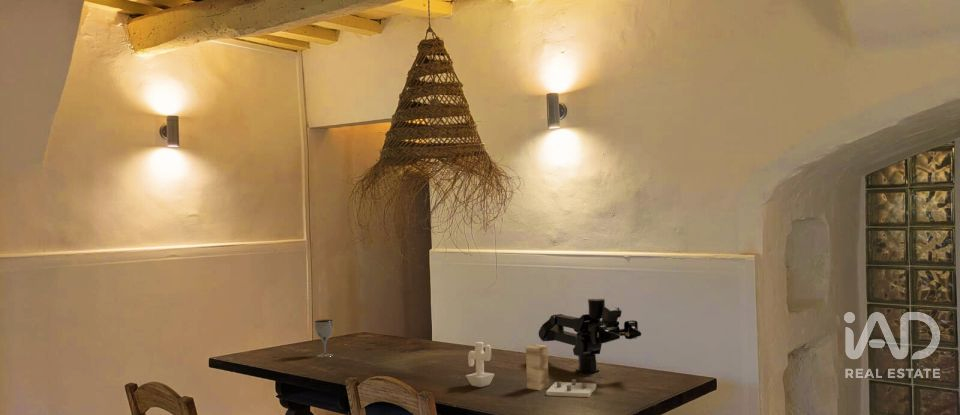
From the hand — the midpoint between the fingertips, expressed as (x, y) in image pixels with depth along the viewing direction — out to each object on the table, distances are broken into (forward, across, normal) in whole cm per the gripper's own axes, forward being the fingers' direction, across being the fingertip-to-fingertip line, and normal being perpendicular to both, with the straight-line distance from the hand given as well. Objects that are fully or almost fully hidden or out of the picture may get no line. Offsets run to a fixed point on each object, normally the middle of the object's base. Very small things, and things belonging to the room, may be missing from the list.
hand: (630, 335), depth 273 cm
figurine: (-30, -42, +17) cm, 54 cm away
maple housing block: (-15, -28, +17) cm, 36 cm away
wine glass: (-118, -70, +19) cm, 138 cm away
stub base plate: (-4, -22, +17) cm, 28 cm away
